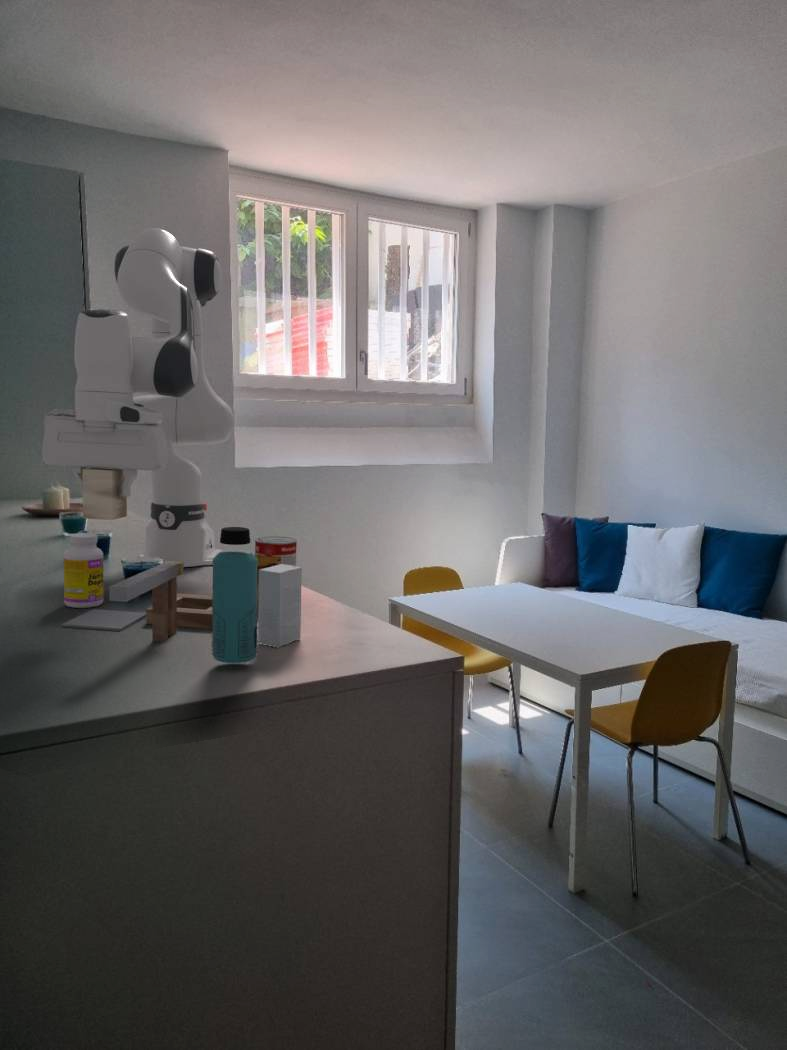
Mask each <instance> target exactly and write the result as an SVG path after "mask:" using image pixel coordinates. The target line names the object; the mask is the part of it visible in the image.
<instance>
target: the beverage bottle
mask: <svg viewBox="0 0 787 1050" xmlns="http://www.w3.org/2000/svg"><path fill="white" fill-rule="evenodd" d="M219 537H220V538H219V543H220V544H222V545H229V546H230V545H231V546H241V545H243V546H244V545H249V544H251V535H250V529H249V528H247V527H242V526H228V527H223V528H221V530H220V536H219ZM212 563H213V565H212V595H211V596H213V598H211V599H212V604H211V605H212V607H211V608H212V615H211V616H212V618H211V619H212V629H211V635H210V636H211V637H210V638H211V645H210V646H211V654H212V656H213V657H212V658H213V660H215V661H217V662H221V663H226V664H239V663H240V664H241V663H246V662H250V661H252V660H254V659H256V657H257V654H258V647H259V646H258V645H259V643H258V618H259V616H258V613H259V603H258V600H259V599H258V595H259V594H258V593H257V592H258V591H257V590H258V589H257V564H258V559H257V558H256V557H255V554H253V552H251V551H250V550H246V549H225V550H223V551H221V552H219V553H218V554H217V555H216V556H215V557H214V558H213V560H212Z"/></svg>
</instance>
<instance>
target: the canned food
mask: <svg viewBox="0 0 787 1050" xmlns="http://www.w3.org/2000/svg"><path fill="white" fill-rule="evenodd" d="M254 543H255V544H254V556H255V557H256V558H257V559H258V564H257V589H258V590H257V591H258V592H257V593H258V594H259V570H261V569H264V568H268V567H272V566H276V565H279V564H285V565H291V566H297V544H298V543H297V539H296V538H295V537H294V538H293V537H289V536H261V537H256V538H255V542H254ZM258 599H259V595H258ZM257 604H259V600H258V603H257Z"/></svg>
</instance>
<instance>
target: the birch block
mask: <svg viewBox="0 0 787 1050" xmlns="http://www.w3.org/2000/svg"><path fill="white" fill-rule="evenodd" d="M82 473H83V495H82V519H91V520H105V521H107V520H108V521H112V520H113V521H114V520H118V519H122V518H127V517H128V506H127V505H128V497H118V496H117V492H118V491H117V486H121V485H122V484H123V483H124V481H125V479H126V477H127V476H124V475H123V469H114V468H95V467H88V468H87V469H82Z"/></svg>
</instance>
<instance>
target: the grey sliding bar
mask: <svg viewBox="0 0 787 1050" xmlns="http://www.w3.org/2000/svg"><path fill="white" fill-rule="evenodd" d="M183 575H184V567H183V562H172V561H165V562H163V563H162V564H160V565H157V566H153V567H151V568H148V569H146V570H145V571H141V572H139V573H137V574H135V575H132V576H131V577H130V576H129V577H127V578H126V579H123V580H121V581H118V582H116V583H114V584H112V585H109V601H110V602H111V601H112V602H124V603H127V602H128V601H131V600H134V599H136V598H138V597H139V596H141V595H142V594H143V595H144V593H147V592H149V591H151V590H152V589H153V588H155V587H157V586H159V585H161V584H163V583H165V582H167V581H169V580H171V579H173V578H175V577H177V578H178V577H179V576H180V577H181V576H183Z"/></svg>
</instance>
